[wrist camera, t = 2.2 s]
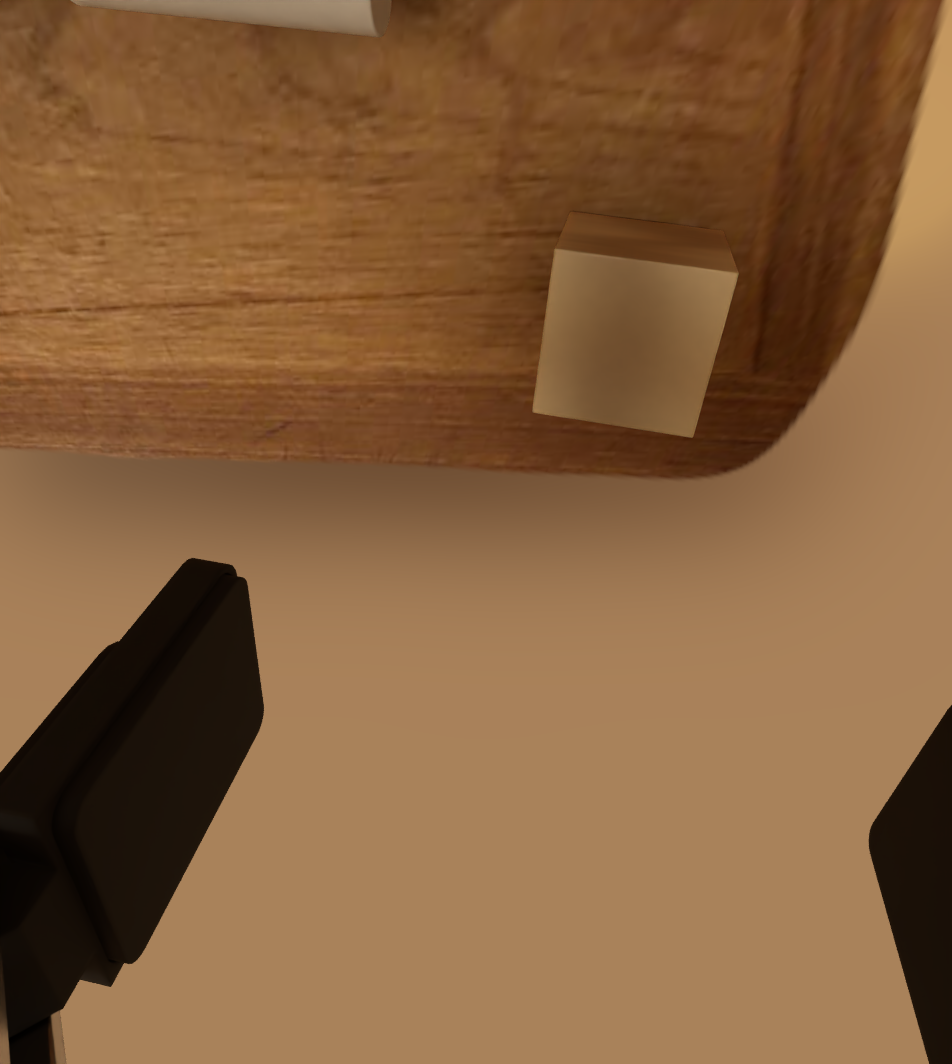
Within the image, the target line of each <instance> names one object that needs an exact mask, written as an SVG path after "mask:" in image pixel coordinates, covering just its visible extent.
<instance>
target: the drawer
mask: <svg viewBox="0 0 952 1064" xmlns="http://www.w3.org/2000/svg"><path fill="white" fill-rule="evenodd" d="M71 1H72V2H74V3H75V4H77V5H79V6H86V7H95V8H105V9H114V10H124V11H133V12H143V13H152V14H162V15H171V16H181V17H190V18H200V19H209V20H218V21H228V22H237V23H247V24H256V25H266V26H275V27H285V28H294V29H304V30H313V31H323V32H332V33H342V34H351V35H360V36H370V37H382V36H383V35H384V34H385V32H386V30H387V27H388V23H389V19H390V13H391V3H392V0H71Z"/></svg>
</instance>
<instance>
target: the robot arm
mask: <svg viewBox="0 0 952 1064" xmlns="http://www.w3.org/2000/svg"><path fill="white" fill-rule="evenodd" d="M263 713H264V704H263V697H262V690H261V682H260V674H259V667H258V659H257V652H256V644H255V637H254V629H253V622H252V615H251V607H250V600H249V592H248V585H247V581H246V580H245V578H243V577H238V576H237V573H236V570H235V569H234V567H233V566H232V565H229V564H224V563H218V562H212V561H207V560H201V559H195V558H191V559H188V560H187V561H186V562H185V563H183V564H182V566H181V567H180V568H179V569H178V571H177V572H176V573H175V574H174V575H173V577H172V578H171V579H170V580H169V581H168V583H167V584H166V585H165V586H164V588H163V589H162V590H161V591H160V592H159V594H158V595H157V596H156V597H155V599H154V600H153V601H152V602H151V604H150V605H149V606H148V607H147V608H146V609H145V611H144V612H143V613H142V614H141V616H140V617H139V618H138V619H137V621H136V622H135V623H134V624H133V625H132V627H131V628H130V629H129V630H128V631H127V633H126V634H125V635H124V636H123V637H122V639H121V640H120V641H119V642H118V641H117V642H115V643H113V644H111V645H109V646H107V647H106V648H105V649H104V650H103V651H102V652H101V653H100V654H99V655H98V656H97V658H96V659H95V660H94V661H93V662H92V664H91V665H90V666H89V667H88V668H87V670H86V671H85V672H84V673H83V674H82V676H81V677H80V678H79V679H78V680H77V681H76V683H75V684H74V685H73V686H72V687H71V689H70V690H69V691H68V692H67V694H66V695H65V696H64V697H63V698H62V699H61V701H60V702H59V703H58V704H57V705H56V707H55V708H54V709H53V710H52V711H51V713H50V714H49V715H48V716H47V717H46V719H45V720H44V721H43V722H42V723H41V725H40V726H39V727H38V728H37V729H36V731H35V732H34V733H33V734H32V735H31V737H30V738H29V739H28V740H27V741H26V743H25V744H24V745H23V746H22V747H21V748H20V750H19V751H18V752H17V753H16V755H15V756H14V757H13V758H12V759H11V760H10V762H9V763H8V764H7V765H6V766H5V768H4V769H3V770H2V771H1V772H0V1064H66V1057H65V1048H64V1040H63V1032H62V1024H61V1016H60V1010H61V1009H63V1008H64V1006H65V1004H66V1002H67V1001H68V999H69V997H70V996H71V994H72V992H73V990H74V989H75V987H76V985H77V983H78V982H79V980H84V981H88V982H92V983H97V984H101V985H105V986H109V987H111V986H112V984H113V982H114V981H115V978H116V977H117V975H118V973H119V971H120V969H121V967H122V966H123V964H124V963H127V964H132V963H134V962H135V961H136V960H137V959H138V958H139V957H140V955H141V954H142V953H143V951H144V949H145V948H146V946H147V944H148V942H149V940H150V938H151V936H152V934H153V932H154V930H155V928H156V927H157V925H158V923H159V921H160V919H161V917H162V915H163V913H164V911H165V909H166V908H167V906H168V904H169V902H170V900H171V898H172V896H173V894H174V892H175V890H176V888H177V887H178V884H179V883H180V881H181V879H182V877H183V875H184V873H185V871H186V869H187V867H188V866H189V864H190V862H191V860H192V858H193V856H194V854H195V852H196V850H197V848H198V846H199V844H200V843H201V841H202V839H203V837H204V835H205V833H206V831H207V829H208V827H209V825H210V823H211V822H212V820H213V818H214V816H215V814H216V812H217V810H218V808H219V806H220V804H221V802H222V801H223V799H224V797H225V795H226V793H227V791H228V789H229V787H230V785H231V783H232V782H233V780H234V778H235V776H236V774H237V772H238V770H239V768H240V766H241V764H242V762H243V760H244V759H245V757H246V755H247V753H248V751H249V749H250V747H251V745H252V743H253V741H254V740H255V738H256V736H257V734H258V732H259V729H260V726H261V723H262V719H263ZM869 849H870V854H871V858H872V862H873V865H874V869H875V872H876V876H877V880H878V883H879V887H880V890H881V894H882V897H883V901H884V904H885V908H886V912H887V915H888V919H889V922H890V925H891V929H892V933H893V936H894V940H895V944H896V947H897V951H898V954H899V958H900V961H901V965H902V968H903V972H904V976H905V979H906V983H907V986H908V990H909V993H910V997H911V1000H912V1004H913V1008H914V1011H915V1014H916V1018H917V1022H918V1025H919V1029H920V1033H921V1036H922V1039H923V1043H924V1047H925V1050H926V1054H927V1057H928V1061H929V1064H952V705H951V707H950V708H949V709H948V710H947V711H946V713H945V715H944V716H943V718H942V719H941V721H940V722H939V724H938V725H937V727H936V728H935V730H934V731H933V733H932V734H931V736H930V737H929V739H928V740H927V742H926V743H925V745H924V746H923V748H922V749H921V751H920V752H919V754H918V755H917V757H916V758H915V760H914V762H913V763H912V765H911V766H910V768H909V769H908V771H907V772H906V774H905V775H904V777H903V778H902V780H901V782H900V783H899V784H898V786H897V787H896V789H895V790H894V792H893V793H892V795H891V797H890V798H889V799H888V801H887V802H886V804H885V806H884V807H883V809H882V810H881V812H880V813H879V815H878V816H877V818H876V819H875V821H874V822H873V824H872V826H871V829H870V833H869Z"/></svg>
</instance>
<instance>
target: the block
mask: <svg viewBox="0 0 952 1064" xmlns="http://www.w3.org/2000/svg"><path fill="white" fill-rule="evenodd" d="M738 275H739V273H738V270H737V267H736V264H735V262H734V259H733V256H732V253H731V250H730V247H729V245H728V242H727V239H726V236H725V233H724V231H722V230H714V229H706V228H698V227H690V226H683V225H675V224H667V223H659V222H651V221H644V220H636V219H628V218H620V217H612V216H605V215H597V214H589V213H581V212H573V211H571V212H570V213H569V216H568V218H567V220H566V223H565V225H564V228H563V230H562V232H561V235H560V237H559V239H558V242H557V244H556V247H555V249H554V255H553V262H552V269H551V277H550V284H549V291H548V299H547V306H546V313H545V321H544V328H543V335H542V342H541V350H540V357H539V364H538V372H537V379H536V386H535V394H534V401H533V408H532V412H533V413H539V414H546V415H552V416H558V417H564V418H571V419H577V420H583V421H590V422H596V423H602V424H609V425H615V426H621V427H627V428H634V429H640V430H646V431H653V432H659V433H665V434H672V435H678V436H684V437H690V438H692V437H693V436H694V432H695V429H696V425H697V421H698V418H699V414H700V411H701V407H702V404H703V400H704V397H705V393H706V389H707V386H708V382H709V379H710V375H711V372H712V368H713V364H714V361H715V357H716V354H717V350H718V347H719V343H720V340H721V336H722V332H723V329H724V325H725V322H726V318H727V315H728V311H729V307H730V304H731V300H732V297H733V293H734V290H735V286H736V283H737V279H738Z"/></svg>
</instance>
